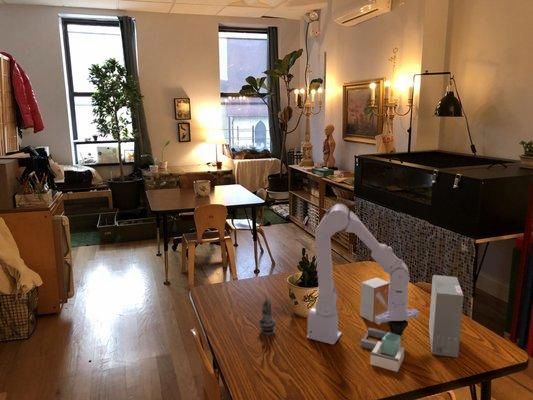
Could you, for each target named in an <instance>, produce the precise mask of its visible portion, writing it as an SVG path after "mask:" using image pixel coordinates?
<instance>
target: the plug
mask: <svg viewBox="0 0 533 400" xmlns="http://www.w3.org/2000/svg"><path fill="white" fill-rule="evenodd" d="M401 338H402V335H401V336H400V335H397V334H393V333H391V331H388V332H386V335H385V336H384V337H383V338H381V342H382V352H381V354H384V355H385V354H386V355H387V356H390V357H396V355H397V352H398V350H399V348H400V347H401Z"/></svg>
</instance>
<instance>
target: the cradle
mask: <svg viewBox="0 0 533 400" xmlns="http://www.w3.org/2000/svg"><path fill="white" fill-rule="evenodd" d="M386 334H387V331H386V330H382V329H378V328H373V327H368V329H367V332H366V334H365V335H364V337H362V338H361V340H360V343H359V347H362V348H365V349H369V350H372V351H373V350H374V348H375V346H376V344H377V343H378V341H375V340H371V339H367V338H368V337H369V336H371V337H375V338H378V339H382V338H383V337H384V336H385V335H386Z"/></svg>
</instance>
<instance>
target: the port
mask: <svg viewBox="0 0 533 400" xmlns="http://www.w3.org/2000/svg"><path fill="white" fill-rule="evenodd" d="M377 342H378V343H377V344H376V346H375V348H374V350H373V349H372V351H371V352H370V363H369V364H370V365H372V366H375V367H379V368H382V369H386V370H390V371H393V372H398V371H399V369H400V367H401V365H402V363H403V360H404V358H405V347H403V346H400V348H399V350H398V352H397V354H396V355H395V356H391V355H387V354H386V355H385V354H383V353H382V341H377Z"/></svg>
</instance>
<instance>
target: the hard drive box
mask: <svg viewBox="0 0 533 400" xmlns="http://www.w3.org/2000/svg"><path fill="white" fill-rule="evenodd" d="M431 279H432V280H431V281H432V282H431V295H430V296H431V297H430V306H429V307H430V309H429V322H428V323H429V325H428V332H429V333H428V334H429V342H430V349H431V350H430V351H431V352H430V353H431V354H433V355H435V356H443V357H444V356H446V357H450V358H459V352H460V341H461V329H462V328H461V327H462V318H463V306H464V305H463V304H464V298H465V297H464V294H463V289H462V287H461V285H460V282H459V279H458V277H456V276H449V275H440V274H439V275H438V274H437V275H436V274H433V275H432V278H431Z"/></svg>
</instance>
